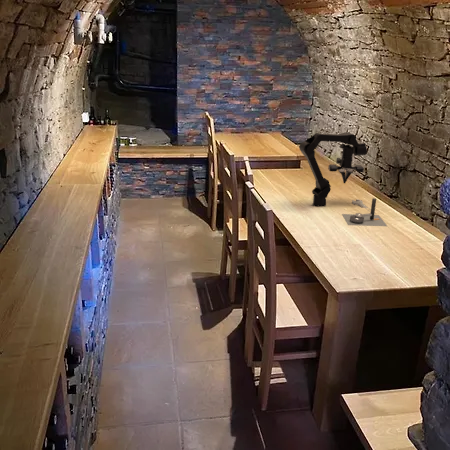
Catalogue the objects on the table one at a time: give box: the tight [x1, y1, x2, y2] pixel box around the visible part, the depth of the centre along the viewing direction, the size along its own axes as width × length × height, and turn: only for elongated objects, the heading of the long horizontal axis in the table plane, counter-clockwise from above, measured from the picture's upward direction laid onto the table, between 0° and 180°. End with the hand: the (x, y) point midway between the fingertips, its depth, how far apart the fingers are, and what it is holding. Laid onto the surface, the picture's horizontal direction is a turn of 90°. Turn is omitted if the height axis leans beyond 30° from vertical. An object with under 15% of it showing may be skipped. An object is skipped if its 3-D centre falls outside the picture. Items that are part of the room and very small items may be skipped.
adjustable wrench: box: [351, 198, 371, 213], centre depth 278 cm, size 25×6×2 cm, turn 6°
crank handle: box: [350, 197, 377, 223], centre depth 254 cm, size 8×13×11 cm, turn 133°
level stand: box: [341, 213, 388, 227], centre depth 257 cm, size 20×17×1 cm
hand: (344, 183), depth 279 cm, fingers closed
